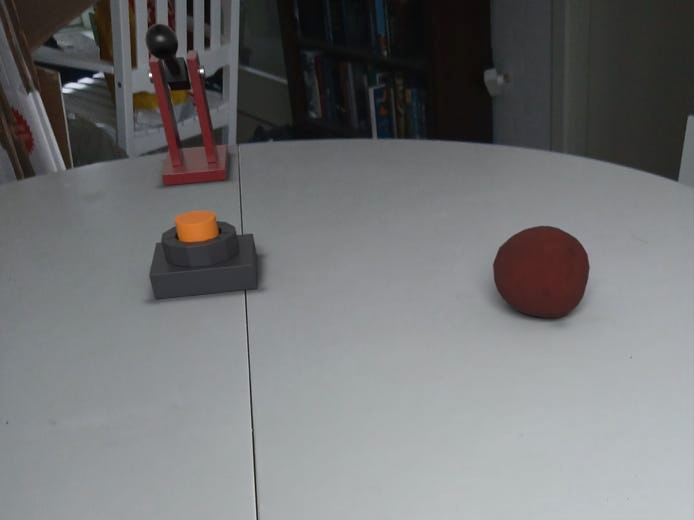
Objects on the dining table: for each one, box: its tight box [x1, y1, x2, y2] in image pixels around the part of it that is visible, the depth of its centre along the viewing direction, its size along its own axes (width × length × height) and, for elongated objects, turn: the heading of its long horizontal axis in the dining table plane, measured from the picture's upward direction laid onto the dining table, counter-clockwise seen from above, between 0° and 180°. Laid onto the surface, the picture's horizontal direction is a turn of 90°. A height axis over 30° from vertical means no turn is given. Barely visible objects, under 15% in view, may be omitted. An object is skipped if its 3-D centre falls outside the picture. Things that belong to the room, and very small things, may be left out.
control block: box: [148, 220, 258, 300], centre depth 90 cm, size 9×8×4 cm
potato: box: [492, 225, 591, 319], centre depth 81 cm, size 7×8×7 cm
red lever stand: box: [147, 49, 230, 186], centre depth 112 cm, size 10×7×12 cm
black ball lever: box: [144, 23, 192, 92], centre depth 105 cm, size 12×3×3 cm, turn 10°
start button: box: [174, 210, 219, 242], centre depth 88 cm, size 4×4×2 cm
